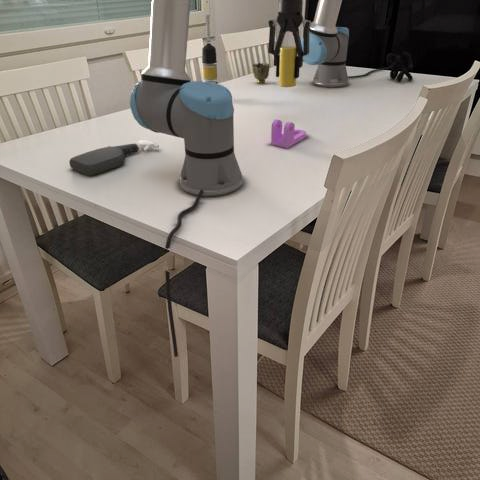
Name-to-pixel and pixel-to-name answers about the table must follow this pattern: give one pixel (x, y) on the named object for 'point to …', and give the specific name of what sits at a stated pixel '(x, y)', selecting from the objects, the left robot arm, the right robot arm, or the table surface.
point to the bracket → (285, 134)
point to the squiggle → (399, 66)
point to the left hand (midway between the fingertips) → (287, 76)
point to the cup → (261, 72)
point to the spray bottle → (106, 157)
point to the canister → (287, 66)
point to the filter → (209, 57)
